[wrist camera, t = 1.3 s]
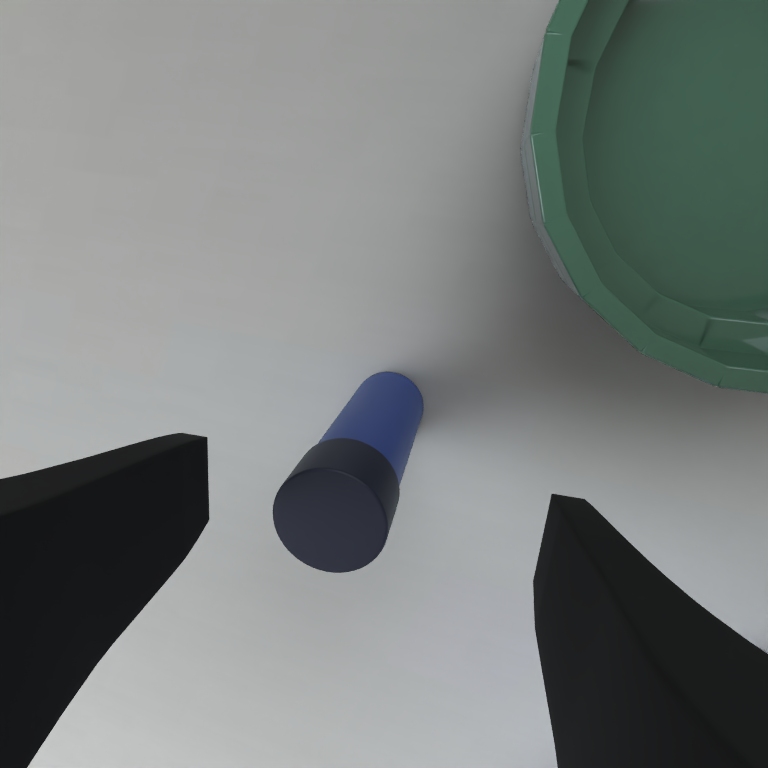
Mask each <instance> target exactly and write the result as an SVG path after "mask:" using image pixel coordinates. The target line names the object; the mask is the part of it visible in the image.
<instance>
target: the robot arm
mask: <svg viewBox="0 0 768 768" xmlns="http://www.w3.org/2000/svg"><path fill="white" fill-rule="evenodd" d="M208 521H209V491H208V448H207V437H203V436H197V435H191V434H184V433H177V434H171V435H166V436H162V437H157V438H153V439H150V440H146V441H142V442H139V443H135V444H132V445H128V446H125V447H121V448H118V449H114V450H111V451H108V452H104V453H101V454H97V455H94V456H90V457H87V458H83V459H80V460H76V461H72V462H68V463H64V464H61V465H57V466H53V467H49V468H45V469H42V470H38V471H34V472H30V473H26V474H22V475H17V476H13V477H8V478H4V479H0V768H27V767H28V765H29V764H30V762H31V761H32V759H33V758H34V756H35V755H36V753H37V752H38V750H39V749H40V747H41V745H42V744H43V742H44V741H45V739H46V738H47V736H48V735H49V733H50V732H51V730H52V729H53V727H54V726H55V724H56V723H57V721H58V720H59V718H60V717H61V715H62V713H63V712H64V711H65V709H66V708H67V706H68V705H69V703H70V702H71V701H72V699H73V698H74V696H75V695H76V693H77V692H78V690H79V689H80V688H81V686H82V685H83V683H84V682H85V680H86V679H87V678H88V676H89V675H90V673H91V672H92V670H93V669H94V668H95V666H96V665H97V663H98V662H99V661H100V660H101V658H102V657H103V656H104V654H105V653H106V652H107V651H108V649H109V648H110V647H111V646H112V644H113V643H114V642H115V641H116V640H117V638H118V637H119V636H120V635H121V634H122V633H123V631H124V630H125V629H126V628H127V627H128V625H129V624H130V623H131V622H132V621H133V620H134V618H135V617H136V616H137V615H138V614H139V613H140V611H141V610H142V609H143V608H144V607H145V606H146V604H147V603H148V602H149V601H150V600H151V599H152V597H153V596H154V595H155V594H156V593H157V592H158V590H159V589H160V588H161V587H162V586H163V584H164V583H165V582H166V581H167V580H168V578H169V577H170V576H171V575H172V574H173V572H174V571H175V570H176V569H177V568H178V566H179V565H180V564H181V563H182V562H183V560H184V559H185V558H186V556H187V555H188V553H189V552H190V550H191V549H192V547H193V546H194V544H195V543H196V541H197V539H198V538H199V536H200V534H201V533H202V531H203V529H204V528H205V526H206V524H207V523H208ZM533 587H534V615H535V631H536V637H537V643H538V649H539V655H540V661H541V667H542V673H543V679H544V685H545V690H546V696H547V702H548V708H549V714H550V719H551V725H552V731H553V737H554V743H555V749H556V757H557V765H558V768H768V654H767V653H765V652H764V651H762V650H761V649H759V648H758V647H756V646H755V645H754V644H752V643H751V642H749V641H748V640H746V639H745V638H744V637H742V636H741V635H740V634H738V633H737V632H735V631H734V630H733V629H731V628H730V627H729V626H727V625H726V624H725V623H723V622H722V621H720V620H719V619H718V618H716V617H715V616H714V615H712V614H711V613H710V612H708V611H707V610H706V609H705V608H703V607H702V606H701V605H700V604H698V603H697V602H696V601H694V600H693V599H692V598H691V597H690V596H688V595H687V594H686V593H685V592H684V591H683V590H681V589H680V588H679V587H678V586H677V585H676V584H674V583H673V582H672V581H671V580H670V579H668V578H667V577H666V576H665V575H664V574H663V573H662V572H661V571H659V570H658V569H657V568H656V567H655V566H654V565H653V564H652V563H651V562H649V561H648V560H647V559H646V558H645V557H644V556H643V555H642V554H641V553H640V552H639V551H638V550H637V549H636V548H635V547H634V546H633V545H631V544H630V543H629V542H628V541H627V540H626V539H625V538H624V537H623V536H622V535H621V534H620V533H619V532H618V531H617V530H616V529H615V528H614V527H613V526H612V525H611V524H610V523H609V522H608V521H607V520H606V519H605V518H604V517H603V516H602V515H601V514H600V513H599V512H598V511H597V510H596V509H595V508H594V507H593V506H592V505H591V504H590V503H588V502H587V501H586V500H585V499H581V498H574V497H568V496H562V495H556V494H552V495H551V500H550V505H549V510H548V514H547V519H546V524H545V528H544V533H543V538H542V543H541V547H540V552H539V557H538V561H537V566H536V571H535V575H534V580H533Z"/></svg>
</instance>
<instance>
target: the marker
mask: <svg viewBox="0 0 768 768" xmlns="http://www.w3.org/2000/svg"><path fill="white" fill-rule="evenodd" d="M422 414H423V399H422V396H421V393H420V391H419V390H418V388H417V387H416V385H415V384H414V383H413V382H412V381H410V380H409V379H408V378H406V377H405V376H402V375H400V374H397V373H393V372H382V373H377V374H375V375H372V376H370V377H369V378H367V379H366V380H365V381H364V382H363V383H362V384H361V386H360V387H359V388H358V390H357V391H356V392H355V394H354V395H353V396H352V398H351V399H350V401H349V402H348V403H347V405H346V406H345V407H344V409H343V410H342V411H341V413H340V414H339V416H338V417H337V418H336V420H335V421H334V422H333V424H332V425H331V426H330V428H329V429H328V430H327V432H326V433H325V435H324V436H323V437H322V439H321V440H320V441H319V443H318V444H317V445H315V446H314V447H312V448H311V449H310V450H309V451H308V452H307V453H306V454H305V455H304V457H303V458H302V459H301V461H300V462H299V463H298V465H297V466H296V467H295V469H294V470H293V471H292V473H291V474H290V475H289V477H288V478H287V479H286V481H285V482H284V483H283V485H282V486H281V487H280V489H279V491H278V492H277V495H276V497H275V500H274V505H273V520H274V525H275V528H276V531H277V534H278V536H279V538H280V540H281V541H282V543H283V544H284V546H285V547H286V548H287V549H288V550H289V551H290V552H291V553H292V554H293V555H294V556H295V557H296V558H297V559H299V560H300V561H302V562H303V563H305V564H307V565H309V566H311V567H313V568H316V569H319V570H322V571H326V572H334V573H342V572H350V571H354V570H357V569H360V568H362V567H364V566H366V565H367V564H369V563H370V562H372V561H373V560H374V559H375V558H376V557H377V556H378V555H379V553H380V552H381V551H382V549H383V547H384V545H385V543H386V540H387V537H388V533H389V530H390V527H391V524H392V520H393V517H394V514H395V511H396V507H397V504H398V500H399V490H400V489H399V485H400V482H401V479H402V476H403V473H404V470H405V467H406V464H407V461H408V458H409V455H410V451H411V448H412V445H413V442H414V439H415V436H416V433H417V430H418V427H419V424H420V420H421V417H422Z"/></svg>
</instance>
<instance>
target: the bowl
mask: <svg viewBox="0 0 768 768" xmlns="http://www.w3.org/2000/svg"><path fill="white" fill-rule="evenodd" d="M521 160H522V166H523V173H524V179H525V186H526V192H527V199H528V205H529V212H530V218H531V221H533V222H532V225H533V227H534V229H535V230H536V232H537V234H538V236H539V238H540V240H541V242H542V244H543V246H544V248H545V250H546V252H547V254H548V255H549V257H550V259H551V261H552V263H553V265H554V267H555V269H556V271H557V273H558V275H559V277H560V278H561V279H562V281H563V282H564V283H565V284H566V285H567V286H568V287H569V288H570V289H571V290H572V291H573V292H574V293H576V294H577V295H578V296H579V297H580V298H581V299H582V300H583V301H584V302H585V303H586V304H587V305H588V306H589V307H591V308H592V309H593V310H594V311H595V312H596V313H597V314H598V315H599V316H600V317H601V318H602V319H603V320H605V321H606V322H607V323H608V324H609V325H610V326H611V327H612V328H613V329H614V330H615V331H616V332H617V333H619V334H620V335H621V336H622V337H623V338H624V339H625V340H626V341H627V342H628V343H629V344H630V345H632V346H633V347H634V348H635V349H636V350H637V351H639V352H640V353H641V354H643V355H645V356H647V357H650V358H652V359H654V360H656V361H659V362H661V363H663V364H665V365H668V366H670V367H672V368H674V369H677V370H679V371H681V372H683V373H685V374H688V375H690V376H692V377H694V378H697V379H699V380H701V381H703V382H706V383H708V384H710V385H712V386H717V387H719V388H727V389H735V390H743V391H751V392H759V393H767V394H768V0H559V1H558V4H557V6H556V8H555V10H554V13H553V15H552V17H551V19H550V22H549V24H548V26H547V28H546V31H545V35H544V38H543V41H542V44H541V47H540V50H539V53H538V56H537V60H536V63H535V66H534V69H533V72H532V76H531V82H530V89H529V95H528V102H527V109H526V116H525V122H524V129H523V136H522V143H521Z"/></svg>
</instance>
